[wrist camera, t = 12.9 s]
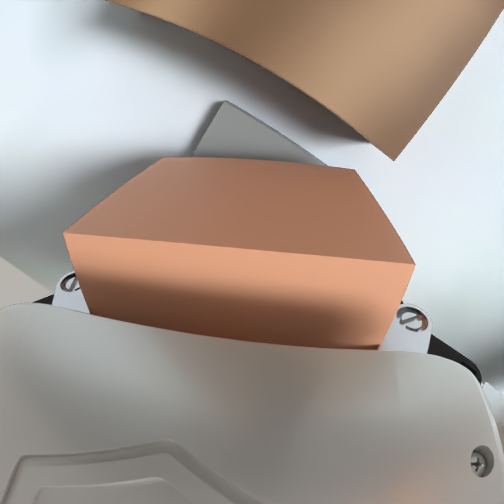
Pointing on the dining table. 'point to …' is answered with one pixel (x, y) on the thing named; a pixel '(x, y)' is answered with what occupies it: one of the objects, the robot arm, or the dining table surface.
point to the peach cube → (244, 253)
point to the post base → (348, 51)
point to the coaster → (248, 139)
